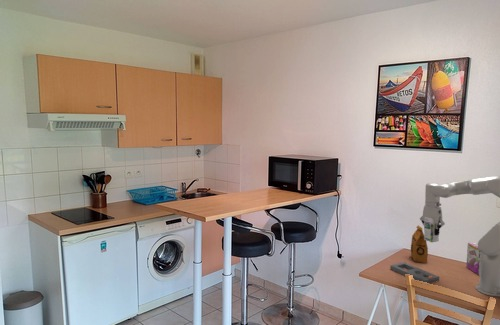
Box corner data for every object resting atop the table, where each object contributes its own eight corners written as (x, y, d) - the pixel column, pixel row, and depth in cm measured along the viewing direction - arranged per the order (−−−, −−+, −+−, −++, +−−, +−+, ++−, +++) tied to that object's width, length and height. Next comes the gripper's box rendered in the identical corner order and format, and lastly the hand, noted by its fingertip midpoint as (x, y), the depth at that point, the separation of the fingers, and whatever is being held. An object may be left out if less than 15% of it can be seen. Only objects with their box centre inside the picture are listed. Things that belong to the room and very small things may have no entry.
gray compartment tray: (439, 280, 194) (439, 275, 194) (424, 285, 189) (425, 279, 189) (403, 265, 216) (404, 260, 215) (390, 269, 210) (390, 264, 210)
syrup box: (423, 240, 204) (424, 216, 203) (430, 238, 206) (431, 215, 205) (431, 242, 199) (432, 218, 198) (439, 241, 201) (439, 217, 200)
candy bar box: (465, 267, 213) (467, 242, 212) (473, 267, 213) (475, 242, 212) (477, 275, 202) (479, 248, 200) (486, 275, 202) (488, 248, 200)
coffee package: (411, 262, 222) (413, 229, 220) (409, 255, 234) (411, 224, 232) (428, 264, 219) (430, 231, 216) (425, 257, 230) (427, 225, 228)
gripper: (450, 205, 195) (449, 236, 196) (423, 201, 210) (422, 229, 212) (442, 207, 192) (441, 238, 193) (415, 202, 207) (414, 231, 208)
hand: (431, 233), depth 202 cm, fingers closed on syrup box, 6 cm apart
